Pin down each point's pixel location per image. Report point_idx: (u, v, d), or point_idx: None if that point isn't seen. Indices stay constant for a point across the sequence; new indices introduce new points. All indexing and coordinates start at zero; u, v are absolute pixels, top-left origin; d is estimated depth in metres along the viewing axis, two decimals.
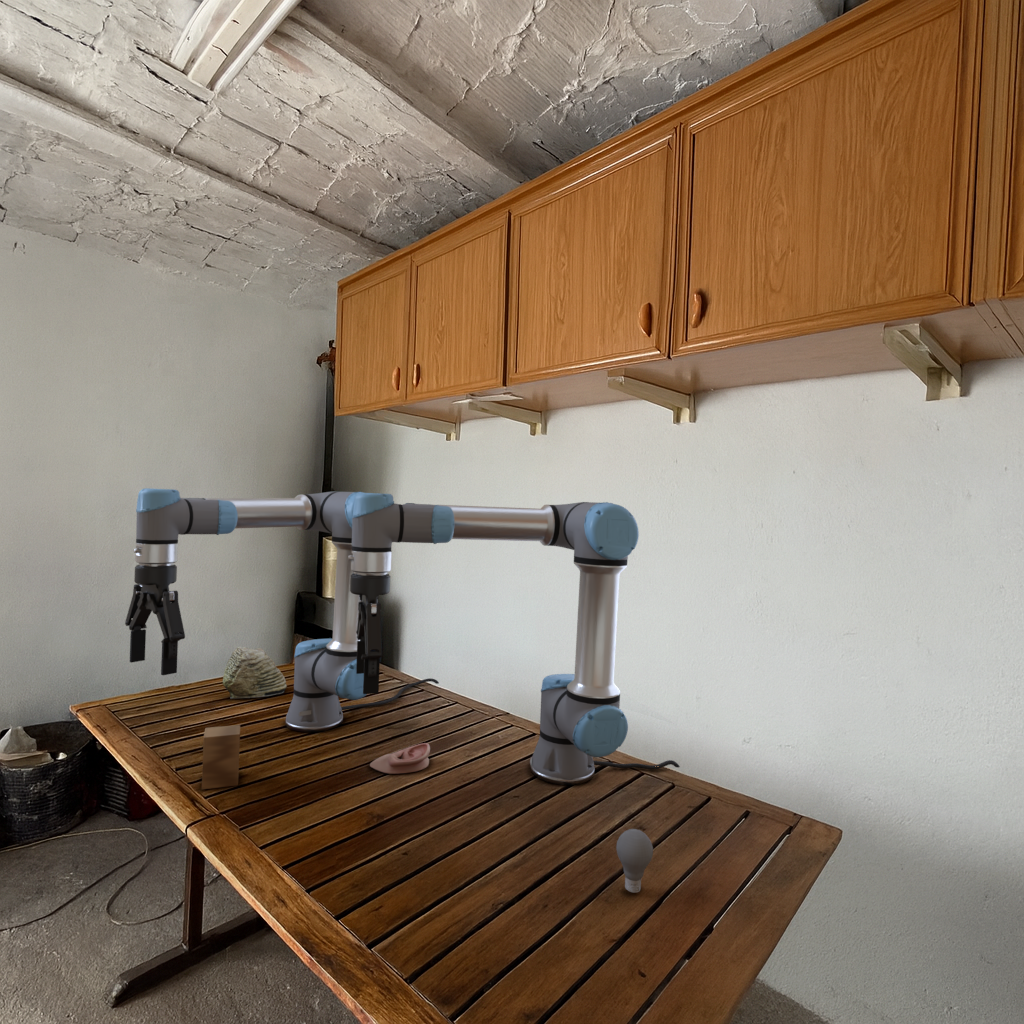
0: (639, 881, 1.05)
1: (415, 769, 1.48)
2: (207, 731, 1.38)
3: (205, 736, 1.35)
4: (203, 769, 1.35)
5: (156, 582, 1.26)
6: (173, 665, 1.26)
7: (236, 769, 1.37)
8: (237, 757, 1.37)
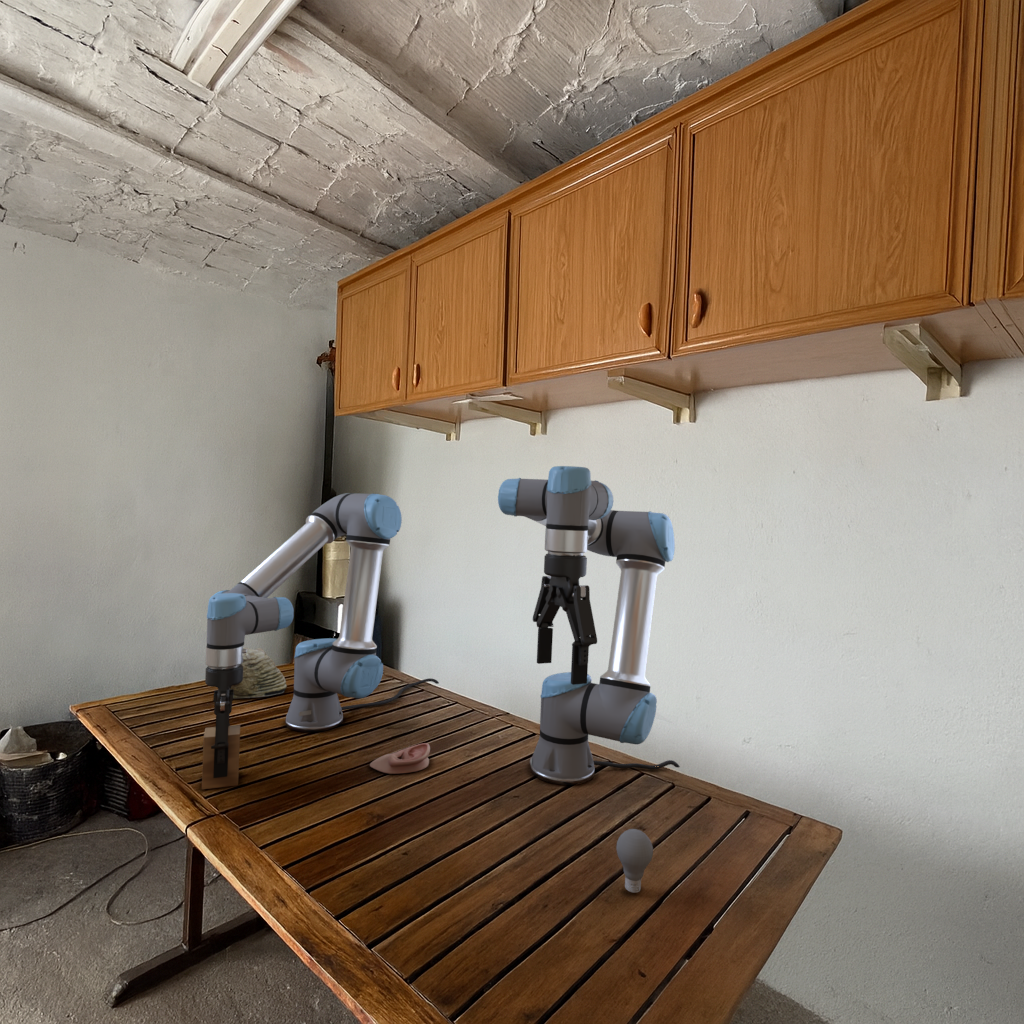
0: (639, 881, 1.05)
1: (415, 769, 1.48)
2: (207, 731, 1.38)
3: (205, 736, 1.35)
4: (203, 769, 1.35)
5: None
6: None
7: (236, 769, 1.37)
8: (237, 757, 1.37)
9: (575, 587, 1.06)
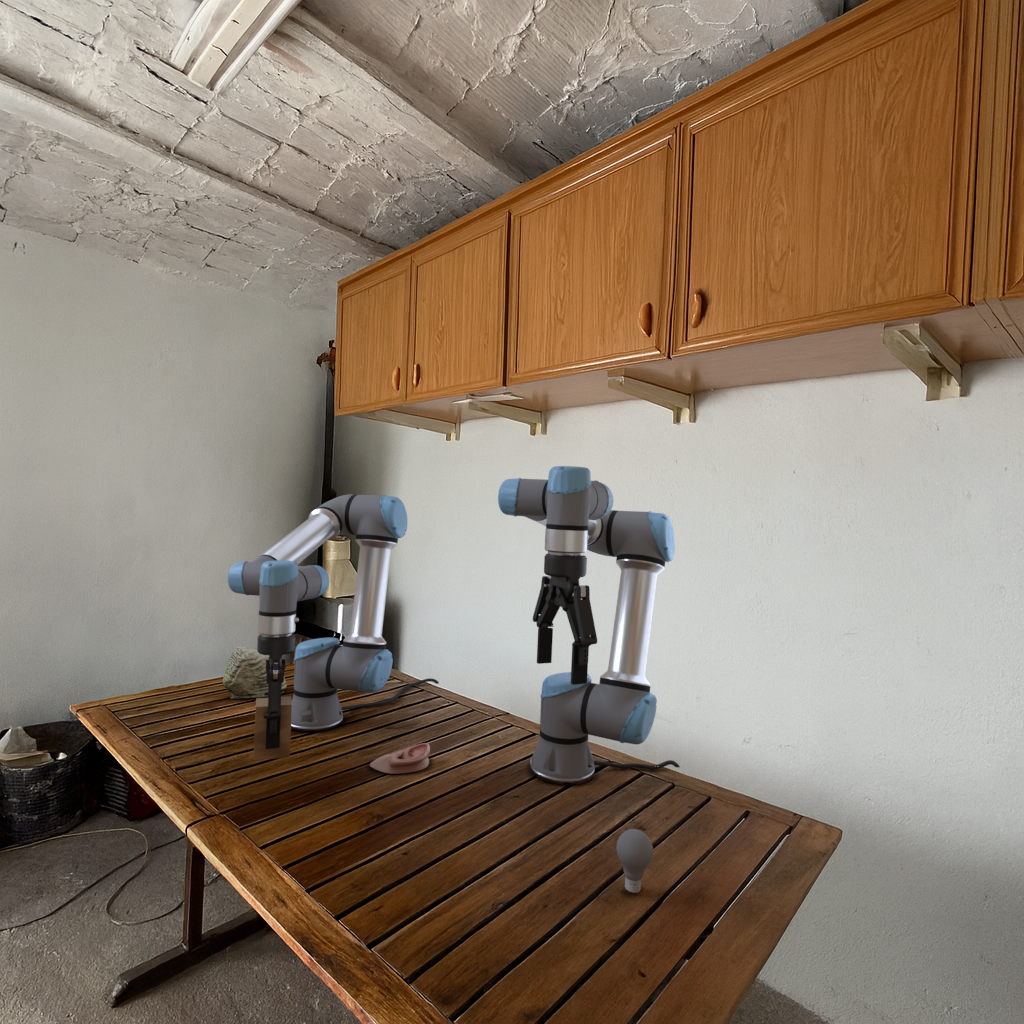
0: (639, 881, 1.05)
1: (415, 769, 1.48)
2: (259, 701, 1.34)
3: (257, 706, 1.31)
4: (255, 740, 1.31)
5: None
6: None
7: (288, 741, 1.33)
8: (289, 728, 1.33)
9: (575, 587, 1.06)
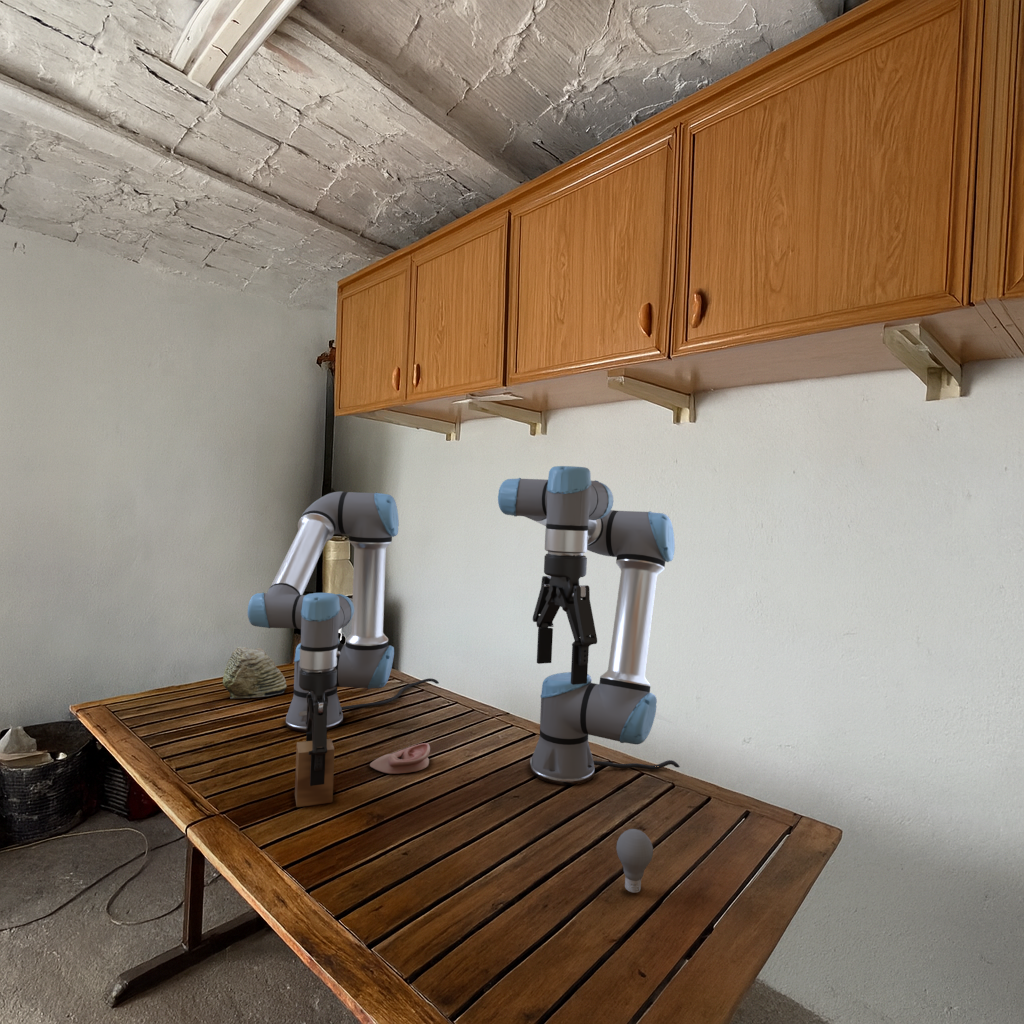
0: (639, 881, 1.05)
1: (415, 769, 1.48)
2: (300, 746, 1.32)
3: (300, 751, 1.29)
4: (298, 786, 1.29)
5: None
6: None
7: (330, 786, 1.31)
8: (332, 773, 1.31)
9: (575, 587, 1.06)
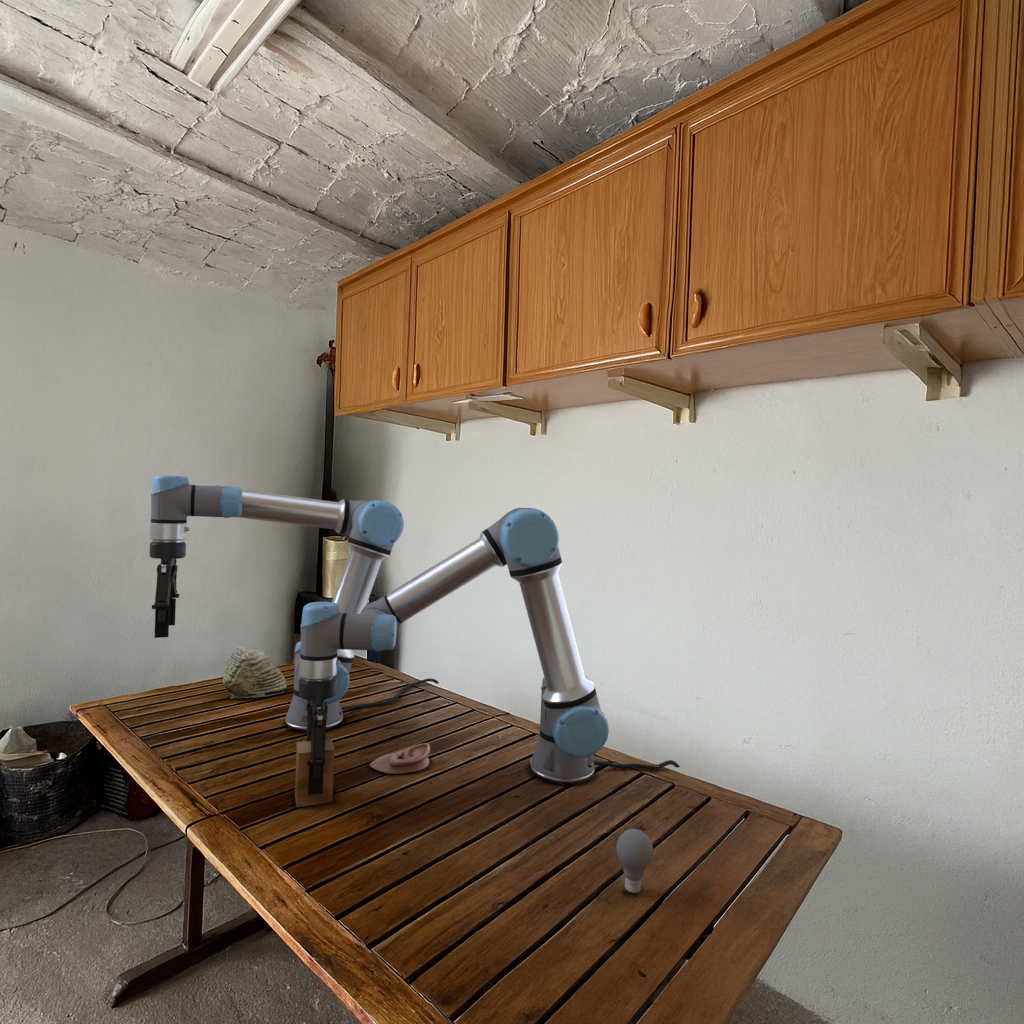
0: (639, 881, 1.05)
1: (415, 769, 1.48)
2: (300, 746, 1.32)
3: (300, 751, 1.29)
4: (298, 786, 1.29)
5: None
6: None
7: (330, 786, 1.31)
8: (332, 773, 1.31)
9: (313, 718, 1.26)
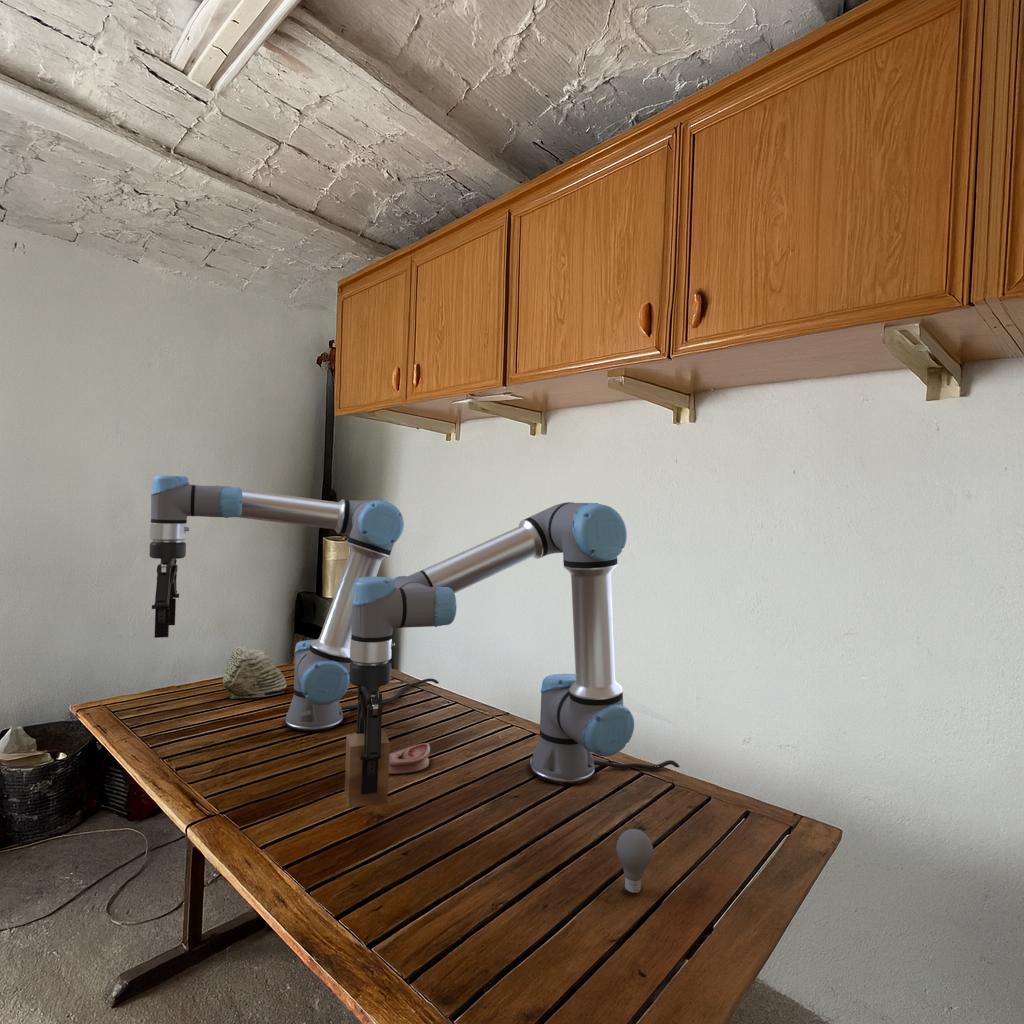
0: (639, 881, 1.05)
1: (415, 769, 1.48)
2: (351, 739, 1.17)
3: (351, 745, 1.14)
4: (350, 784, 1.14)
5: None
6: None
7: (385, 784, 1.16)
8: (387, 770, 1.16)
9: (368, 706, 1.11)
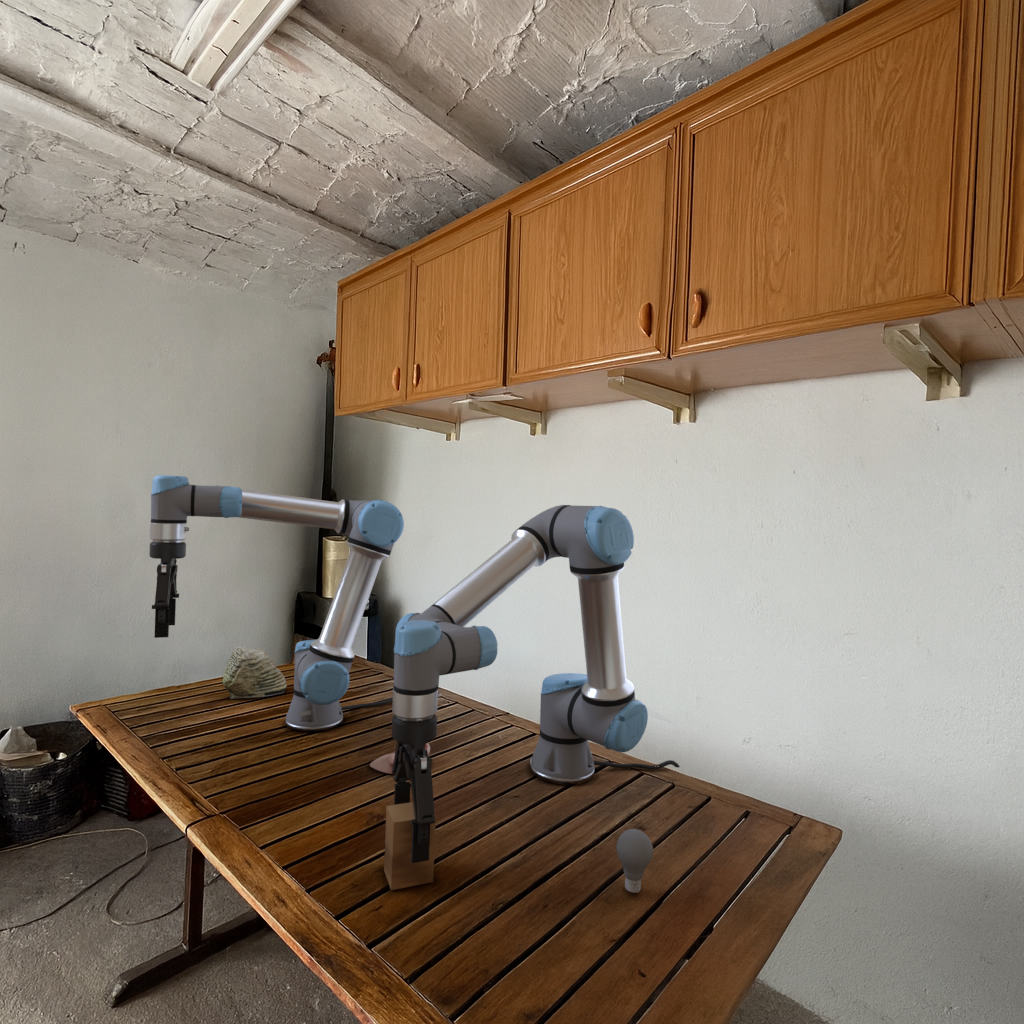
0: (639, 881, 1.05)
1: None
2: (393, 811, 1.06)
3: (395, 820, 1.04)
4: (393, 864, 1.03)
5: None
6: None
7: (431, 862, 1.06)
8: (432, 846, 1.06)
9: (415, 760, 1.00)
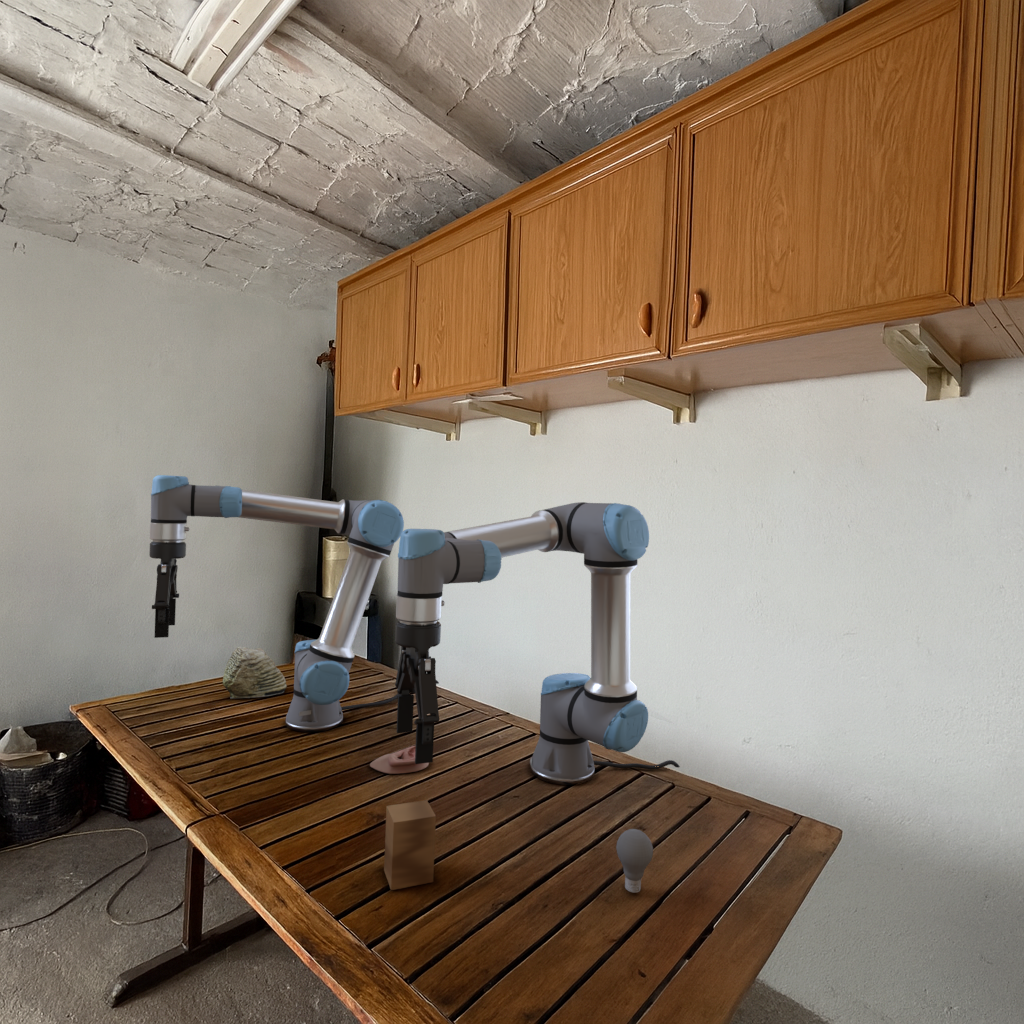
0: (639, 881, 1.05)
1: (415, 769, 1.48)
2: (393, 811, 1.06)
3: (395, 820, 1.04)
4: (393, 864, 1.03)
5: None
6: None
7: (431, 862, 1.06)
8: (432, 846, 1.06)
9: (419, 660, 1.00)
